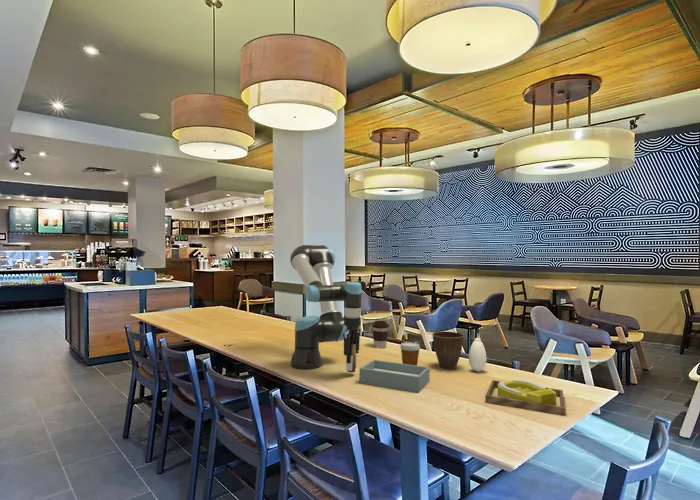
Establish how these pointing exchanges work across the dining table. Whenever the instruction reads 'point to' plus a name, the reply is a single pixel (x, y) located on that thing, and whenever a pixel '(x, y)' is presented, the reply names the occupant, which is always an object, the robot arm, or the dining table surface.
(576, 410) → the dining table surface
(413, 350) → the disposable coffee cup
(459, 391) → the dining table surface
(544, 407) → the brown wooden frame
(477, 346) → the white bulb air blower
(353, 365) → the dowel
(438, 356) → the plant pot
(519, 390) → the yellow-green curved block
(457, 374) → the dining table surface
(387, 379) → the tray
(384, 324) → the coffee cup
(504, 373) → the dining table surface
